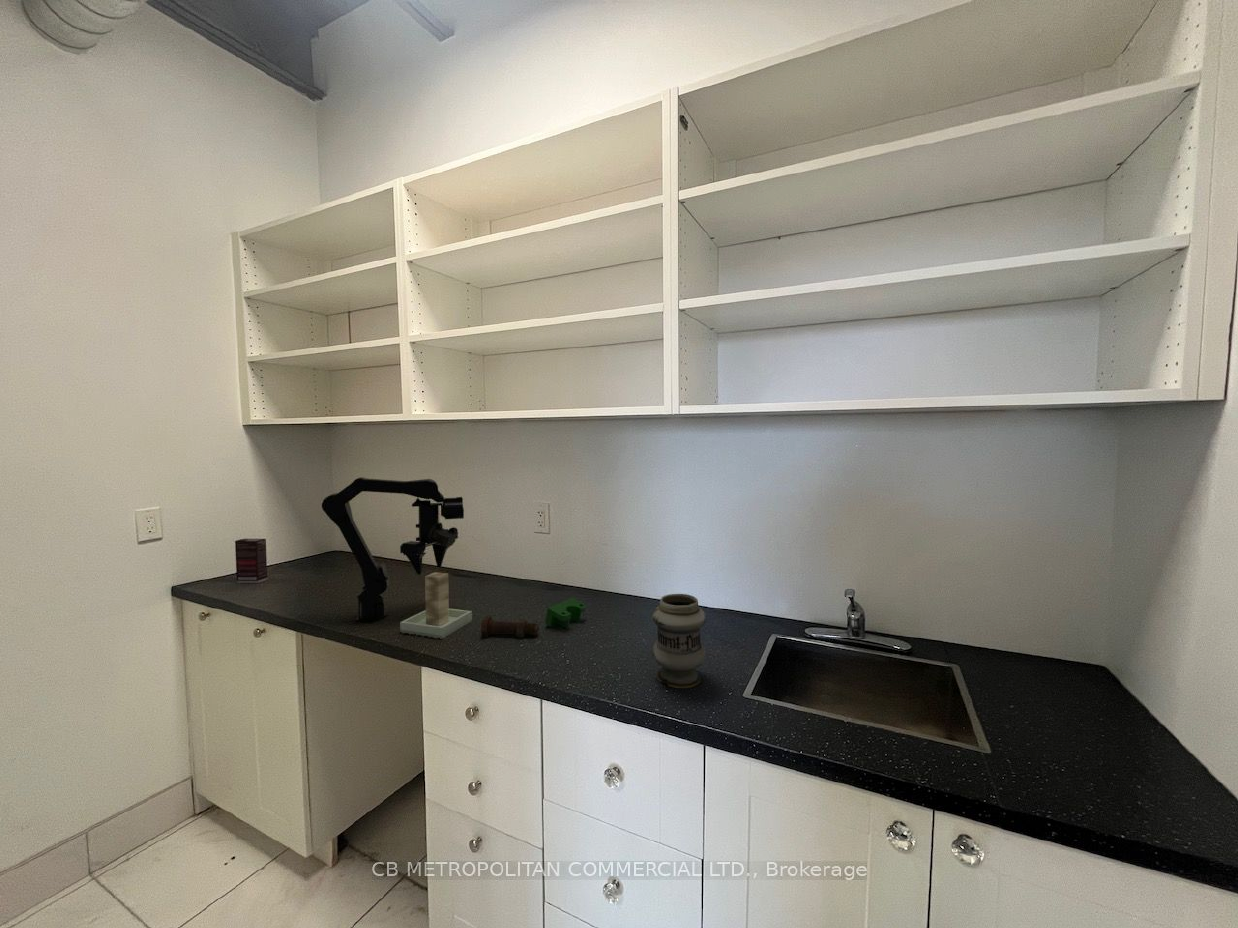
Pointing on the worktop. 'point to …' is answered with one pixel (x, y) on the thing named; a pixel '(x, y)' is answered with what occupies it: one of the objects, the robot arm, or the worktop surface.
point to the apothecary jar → (679, 640)
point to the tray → (419, 626)
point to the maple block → (437, 599)
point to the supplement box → (251, 560)
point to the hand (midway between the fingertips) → (429, 570)
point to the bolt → (508, 627)
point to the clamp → (564, 613)
